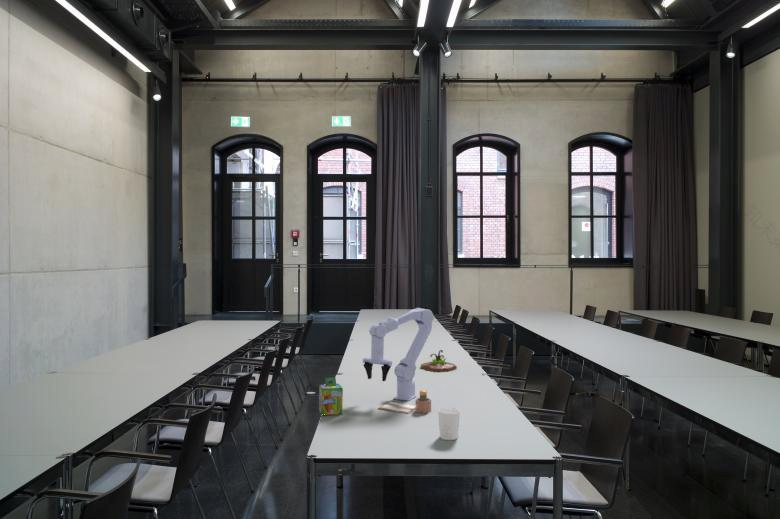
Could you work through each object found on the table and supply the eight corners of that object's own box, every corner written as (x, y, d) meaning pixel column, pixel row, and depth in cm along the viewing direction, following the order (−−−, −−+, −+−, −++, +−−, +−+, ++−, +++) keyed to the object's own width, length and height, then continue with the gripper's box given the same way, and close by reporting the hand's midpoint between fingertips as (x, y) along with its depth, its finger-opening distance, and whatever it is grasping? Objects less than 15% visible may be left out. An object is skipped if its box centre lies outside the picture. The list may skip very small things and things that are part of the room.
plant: (462, 369, 326) (462, 351, 326) (438, 373, 315) (438, 354, 315) (440, 364, 342) (440, 346, 342) (416, 367, 331) (416, 349, 331)
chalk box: (321, 416, 230) (321, 381, 230) (318, 410, 239) (318, 376, 239) (343, 414, 232) (343, 380, 232) (339, 408, 241) (339, 375, 241)
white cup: (457, 433, 208) (457, 407, 208) (461, 440, 200) (461, 413, 200) (437, 434, 208) (437, 407, 208) (439, 441, 200) (439, 414, 200)
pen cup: (419, 408, 243) (419, 396, 243) (432, 410, 240) (432, 398, 240) (413, 411, 237) (413, 400, 237) (427, 413, 234) (427, 402, 234)
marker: (421, 408, 240) (421, 390, 240) (427, 409, 239) (427, 390, 239) (418, 410, 238) (418, 391, 237) (425, 410, 236) (425, 392, 236)
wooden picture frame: (390, 402, 252) (390, 401, 252) (419, 406, 245) (419, 405, 245) (377, 409, 241) (377, 407, 241) (408, 413, 234) (408, 412, 234)
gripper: (359, 350, 252) (358, 379, 252) (387, 353, 245) (386, 383, 245) (367, 348, 258) (366, 376, 258) (394, 351, 251) (393, 380, 251)
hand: (376, 379), depth 252 cm, fingers open, 7 cm apart
